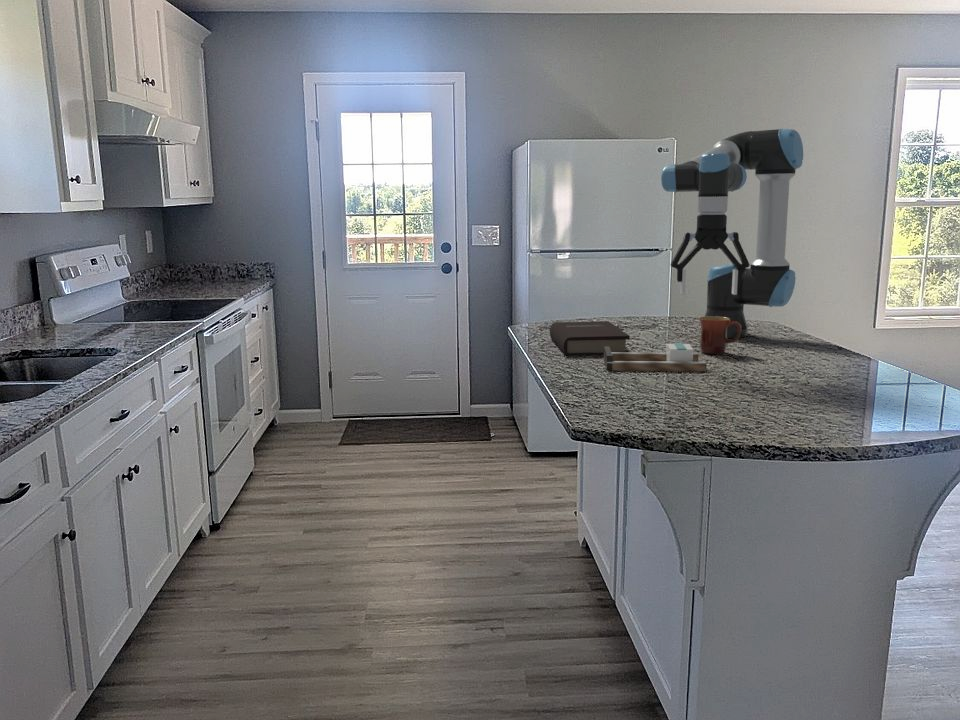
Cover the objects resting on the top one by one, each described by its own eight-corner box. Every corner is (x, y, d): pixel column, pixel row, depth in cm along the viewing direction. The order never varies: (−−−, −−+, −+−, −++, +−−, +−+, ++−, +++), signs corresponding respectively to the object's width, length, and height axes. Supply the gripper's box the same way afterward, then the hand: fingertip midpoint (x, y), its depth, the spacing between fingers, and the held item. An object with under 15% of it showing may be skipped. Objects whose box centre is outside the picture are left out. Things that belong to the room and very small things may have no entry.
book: (549, 340, 258) (549, 322, 257) (608, 339, 259) (608, 321, 258) (563, 357, 230) (563, 337, 229) (629, 355, 232) (629, 335, 230)
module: (688, 363, 219) (689, 343, 217) (692, 369, 211) (693, 348, 210) (666, 363, 219) (667, 342, 218) (669, 369, 211) (670, 348, 210)
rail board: (697, 360, 221) (697, 346, 220) (706, 371, 208) (706, 356, 207) (603, 360, 223) (603, 346, 223) (606, 370, 210) (607, 355, 209)
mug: (694, 354, 230) (696, 319, 228) (700, 349, 238) (701, 315, 235) (737, 357, 225) (739, 321, 223) (741, 352, 233) (743, 317, 230)
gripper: (757, 213, 210) (752, 292, 214) (662, 213, 212) (659, 292, 216) (764, 213, 203) (759, 295, 207) (666, 214, 205) (663, 295, 209)
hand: (708, 294), depth 212 cm, fingers open, 13 cm apart
